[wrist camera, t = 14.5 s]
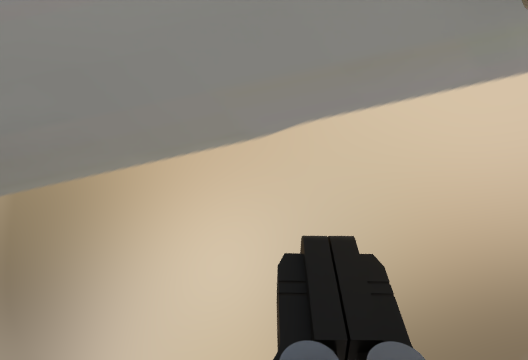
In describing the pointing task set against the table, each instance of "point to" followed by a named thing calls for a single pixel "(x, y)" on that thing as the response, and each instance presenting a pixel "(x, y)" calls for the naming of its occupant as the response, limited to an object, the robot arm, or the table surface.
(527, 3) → the crank handle
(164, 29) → the table surface
